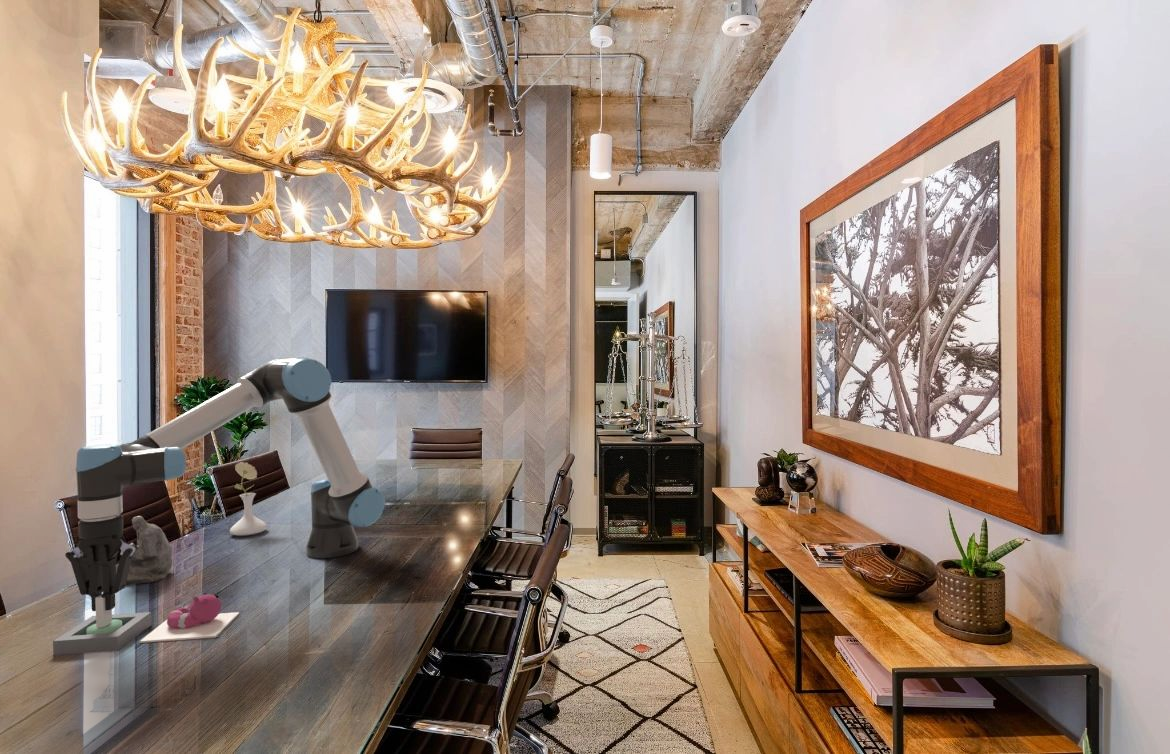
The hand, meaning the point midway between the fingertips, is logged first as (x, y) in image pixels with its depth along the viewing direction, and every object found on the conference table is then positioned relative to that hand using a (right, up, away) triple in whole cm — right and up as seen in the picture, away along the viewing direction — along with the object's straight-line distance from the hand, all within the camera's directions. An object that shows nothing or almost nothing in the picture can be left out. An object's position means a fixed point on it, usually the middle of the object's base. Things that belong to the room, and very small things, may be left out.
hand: (104, 624), depth 127 cm
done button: (0, -3, 0) cm, 3 cm away
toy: (+15, -3, +8) cm, 17 cm away
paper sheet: (+15, -3, +6) cm, 17 cm away
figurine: (-19, -3, +36) cm, 40 cm away
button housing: (0, -3, 0) cm, 3 cm away
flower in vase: (-14, -1, +78) cm, 79 cm away
